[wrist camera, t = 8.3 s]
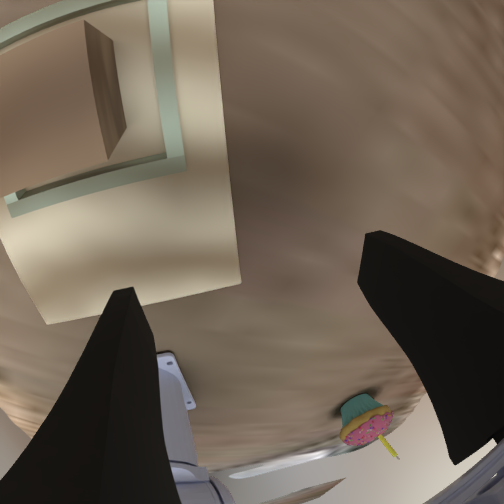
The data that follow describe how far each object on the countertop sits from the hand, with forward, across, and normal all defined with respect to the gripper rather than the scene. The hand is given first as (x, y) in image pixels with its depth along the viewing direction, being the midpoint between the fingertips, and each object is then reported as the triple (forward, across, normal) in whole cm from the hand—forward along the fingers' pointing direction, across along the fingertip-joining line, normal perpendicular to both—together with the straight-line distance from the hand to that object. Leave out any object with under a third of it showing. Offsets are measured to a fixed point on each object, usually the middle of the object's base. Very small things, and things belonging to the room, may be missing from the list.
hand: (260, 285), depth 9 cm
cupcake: (+10, -16, +37) cm, 41 cm away
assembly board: (+9, +6, -2) cm, 11 cm away
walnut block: (+8, +6, -6) cm, 12 cm away
